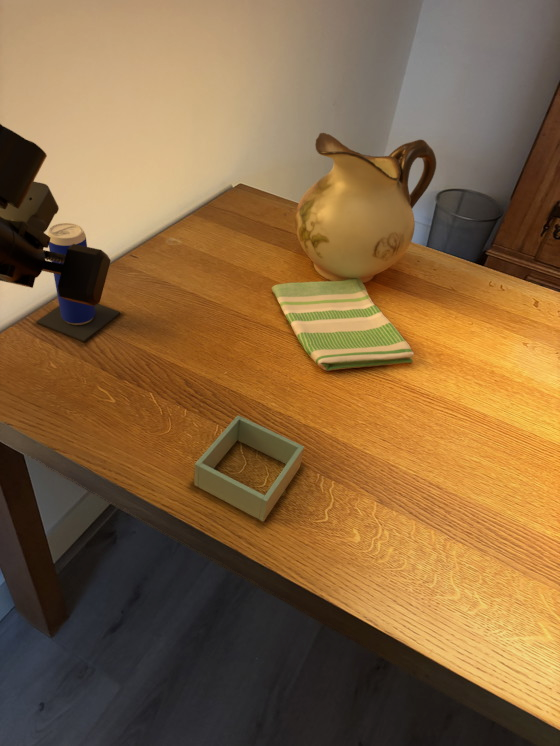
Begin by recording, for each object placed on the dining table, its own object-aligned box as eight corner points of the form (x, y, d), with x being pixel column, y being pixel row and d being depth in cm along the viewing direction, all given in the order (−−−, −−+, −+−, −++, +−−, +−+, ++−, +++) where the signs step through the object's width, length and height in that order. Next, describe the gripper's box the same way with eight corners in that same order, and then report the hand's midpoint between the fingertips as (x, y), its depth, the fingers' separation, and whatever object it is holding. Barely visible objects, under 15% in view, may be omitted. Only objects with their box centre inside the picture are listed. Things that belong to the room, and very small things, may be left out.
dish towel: (359, 286, 105) (362, 274, 103) (415, 364, 88) (420, 351, 87) (270, 292, 99) (272, 279, 98) (313, 376, 83) (315, 362, 81)
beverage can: (85, 304, 89) (73, 219, 80) (102, 319, 87) (92, 233, 77) (55, 314, 86) (39, 227, 77) (71, 330, 84) (57, 242, 74)
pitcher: (271, 276, 104) (287, 142, 87) (313, 230, 121) (333, 110, 104) (383, 313, 99) (423, 177, 82) (410, 259, 116) (448, 137, 100)
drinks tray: (263, 522, 63) (266, 501, 60) (194, 485, 65) (194, 463, 63) (300, 467, 69) (304, 446, 67) (235, 435, 72) (237, 414, 70)
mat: (84, 342, 83) (83, 340, 83) (36, 323, 85) (36, 321, 85) (120, 313, 89) (120, 311, 89) (75, 296, 91) (75, 294, 91)
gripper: (94, 183, 55) (142, 236, 70) (-76, 148, 56) (8, 207, 72) (65, 289, 54) (121, 319, 70) (-106, 251, 56) (-15, 288, 71)
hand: (58, 281), depth 71 cm, fingers open, 9 cm apart
